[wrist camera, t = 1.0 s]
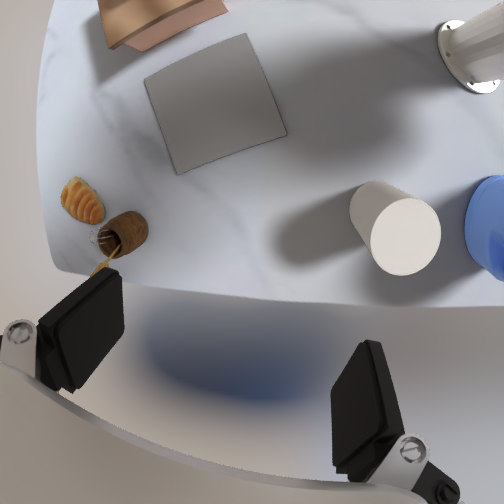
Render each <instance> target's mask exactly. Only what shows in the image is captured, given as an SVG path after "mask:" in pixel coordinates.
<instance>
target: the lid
mask: <svg viewBox="0 0 504 504" xmlns="http://www.w3.org/2000/svg"><path fill="white" fill-rule="evenodd" d="M202 1H204V0H98V5H99V10H100V15H101V19H102V24H103V28H104V32H105V36H106V41H107V45H108V48H109V49H112V50H114V49H116V48H117V47H119V46H120V45H122V44H123V43H125V42H126V41H128V40H129V39H131V38H133V37H134V36H136V35H137V34H139V33H141V32H142V31H144V30H146V29H148V28H149V27H151V26H153V25H155V24H156V23H158V22H160V21H162V20H164V19H166V18H168V17H170V16H172V15H174V14H176V13H178V12H180V11H182V10H184V9H186V8H188V7H190V6H193V5H195V4H197V3H200V2H202Z"/></svg>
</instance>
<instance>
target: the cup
mask: <svg viewBox="0 0 504 504" xmlns="http://www.w3.org/2000/svg"><path fill="white" fill-rule="evenodd" d="M349 214H350V219H351V222H352V224H353V225H354V227H355V229H356V230H357V232H358V233H359V235H360V236H361V238H362V240H363V241H364V243H365V244H366V246H367V248H368V249H369V251H370V252H371V254H372V256H373V257H374V259H375V261H376V262H377V264H378V265H379V266H380V267H381V268H382V269H383V270H385V271H386V272H388V273H390V274H394V275H400V276H403V275H410V274H413V273H416V272H418V271H419V270H421V269H423V268H424V267H425V266H426V265H427V264H428V263H429V262H430V261H431V260H432V259H433V257H434V256H435V254H436V252H437V250H438V247H439V244H440V239H441V227H440V222H439V219H438V217H437V215H436V213H435V211H434V210H433V209H432V208H431V207H430V206H429V205H428V204H427V203H425V202H423V201H421V200H420V199H418V198H416V197H414V196H412V195H410V194H408V193H406V192H404V191H402V190H400V189H398V188H396V187H394V186H392V185H390V184H388V183H386V182H383V181H371V182H368V183H366V184H364V185H362V186H361V187H359V188H358V189H357V190H356V192H355V193H354V195H353V196H352V199H351V201H350V206H349Z"/></svg>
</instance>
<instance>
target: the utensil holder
mask: <svg viewBox="0 0 504 504" xmlns="http://www.w3.org/2000/svg"><path fill="white" fill-rule="evenodd" d="M100 228H101V229H100V230H99V229H98V228H97V230H99V233H97V234H98V238H92V236H91V238H92V239H98V241H97V242H98V245H99V247H100V249H101V251H102V252H103V253H104V254H105V255H106V256H107V257H109V258H108V259H107V260H106V261H105V262H103V263H100V264H99V266H98V267H97V268H96V270H95V271H94V272H93V274H92V275H91V276H93V275H94V274H95V273H96V272H97V271H99V270H101V269H102V268H103V267H108V266H109V265H108V264H107V263H108V262H109V260H110V259H111V258H112V259H116V258H119V257H122V256H123V255H126V254H129V253H131V252H132V251H134V250H135V249H136V248H138V247H139V246H140V245H142V244H143V243H144V242H145V240H146V238H147V236H148V225H147V222H146V220H145V219H144V218H143V216H142V215H140V214H139V213H137V212H134V211H128V212H125V213H123V214H120V215H118V216H116V217H114V218H113V219H111V220H110V221H109V222H108V223H107V224H106V225H104V226H103V227H100ZM95 230H96V229H95ZM95 230H93V231H95ZM91 232H92V231H91ZM90 235H91V233H90ZM92 235H93V234H92ZM94 236H96V235H94ZM94 236H93V237H94ZM89 238H90V237H89ZM92 239H91V240H92ZM97 242H96V243H97ZM91 243H93V244H94V242H93V240H92V242H91ZM94 245H95V244H94ZM98 245H96V246H98ZM91 276H90V277H91Z"/></svg>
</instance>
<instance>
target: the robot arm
mask: <svg viewBox="0 0 504 504" xmlns="http://www.w3.org/2000/svg"><path fill="white" fill-rule="evenodd" d="M437 38H438V46H439V51H440V53H441V56H442V58H443V60H444V62H445V64H446V66H447V67H448V69H449V70H450V72H451V73H452V74H453V75H454V77H455V78H456V79H457V80H458V81H459V82H460V83H461V84H462V85H464V86H465V87H466V88H468V89H470V90H472V91H474V92H477V93H483V94H484V93H489V92H492V91H494V90H495V89H496V88H497V86H498V84H499V81H500V80H504V2H502V3H500V4H498V5H496V6H494V7H492V8H490V9H488V10H487V11H485V12H483V13H481V14H479V15H478V16H476V17H474V18H472V19H471V20H469V21H467V22H466V23H465V22H463V21H459V20H450V21H447V22H446V23H444V24H443V25H442V26H441V27H440V29H439V31H438V37H437ZM38 322H39V324H38V325H37V326H35V324H33V323H32V322H31V321H29V320H23V319H21V320H16V321H14V322H12V323H10V324H9V325H8V326H7V327H6V329H5V331H4V333H3V335H0V504H464V502H463V501H462V502H460V503H459V502H458V501H459V499H460V490H459V487H458V485H457V483H456V482H455V481H454V480H452V479H451V478H450V477H448V476H447V475H446V474H444V473H443V472H442V471H441V470H439V469H438V468H437V467H435V466H434V465H433V464H432V463H430V462H429V461H428V458H429V455H430V452H429V451H430V450H429V447H428V444H427V443H426V441H425V440H424V439H423V438H422V437H421V436H419V435H417V434H413V433H408V434H407V433H406V434H405V431H404V426H403V422H402V418H401V413H400V409H399V405H398V401H397V397H396V393H395V390H394V386H393V382H392V379H391V375H390V372H389V368H388V365H387V362H386V358H385V355H384V352H383V349H382V346H381V343H380V342H377V341H371V340H365V341H364V342H363V343H362V342H361V343H359V345H358V346H357V348H356V350H355V351H354V353H353V355H352V356H351V358H350V360H349V362H348V363H347V365H346V366H345V368H344V370H343V371H342V373H341V375H340V376H339V378H338V379H337V381H336V382H335V384H334V386H333V387H332V390H331V417H332V457H333V458H332V460H333V462H332V463H333V466H336V473H337V474H348V481H347V482H333V481H319V480H307V479H298V478H289V477H282V476H275V475H269V474H263V473H257V472H252V471H247V470H242V469H238V468H233V467H229V466H225V465H221V464H217V463H214V462H210V461H206V460H202V459H200V458H196V457H193V456H190V455H187V454H184V453H181V452H178V451H175V450H172V449H169V448H167V447H164V446H161V445H159V444H156V443H153V442H151V441H149V440H146V439H144V438H141V437H139V436H137V435H134V434H132V433H130V432H128V431H126V430H123V429H121V428H119V427H117V426H115V425H113V424H111V423H109V422H107V421H105V420H103V419H101V418H99V417H97V416H95V415H94V414H92V413H90V412H88V411H86V410H85V409H83V408H81V407H79V406H78V405H76V404H74V403H73V402H71V401H69V400H67V399H66V398H64V397H63V396H61V395H59V390H60V389H61V387H62V388H64V389H65V390H67V391H69V392H70V393H72V394H73V392H74V391H75V390H76V389H80V388H81V387H82V386H83V385H84V383H85V382H86V381H87V379H88V378H89V377H90V375H91V374H92V373H93V371H94V370H95V369H96V368H97V366H98V365H99V364H100V362H101V361H102V360H103V359H104V357H105V356H106V355H107V354H108V352H109V351H110V350H111V349H112V347H113V346H114V345H115V344H116V342H117V341H118V340H119V339H120V337H121V336H122V335H123V333H124V313H123V297H122V277H121V276H120V275H119V272H118V271H117V270H114V269H111V268H108V267H103V268H102V269H101V270H99V271H98V272H97V273H95V274H94V275H93V276H91V277H90V278H89V279H88V280H87V281H85V282H84V283H83V284H81V285H80V286H79V287H78V288H76V289H75V290H74V291H73V292H71V293H70V294H69V295H68V296H66V297H65V298H64V299H63V300H62V301H61V302H60V303H58V304H57V305H56V306H54V307H53V308H52V309H51V310H50V311H49V312H47V313H46V314H45V315H44V316H43V317H42V318H41V319H39V321H38Z"/></svg>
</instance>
